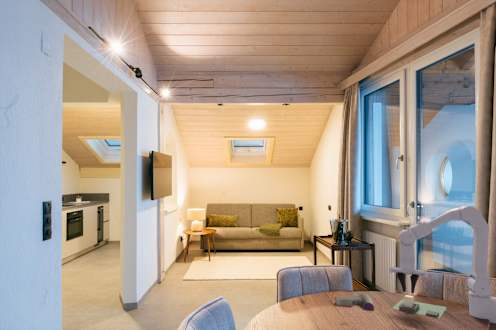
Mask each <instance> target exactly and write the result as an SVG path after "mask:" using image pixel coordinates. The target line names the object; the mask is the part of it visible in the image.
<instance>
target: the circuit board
mask: <svg viewBox="0 0 496 330" xmlns="http://www.w3.org/2000/svg"><path fill="white" fill-rule="evenodd" d="M403 302H404V299H403V298H402V299H401V300H399V301H398V302H397V303H396V304H395V305H394V306H392V307H391V309H393V310H397V311H402V310H399V306H400V305H401V304H402V303H403ZM414 304H419V309H418V310H417V311H416V313H415V314H417V315H422V316H426V317H427V316H428V317H432V318H438V319H441V317H442V316H443V315H444V313H445V312H446V310H447V308H448V307H447V306H443V305H436V304H431V303H426V302H425V303H424V302H420V301H415V300H414ZM402 312H403V311H402ZM405 312H408V311H405ZM408 313H409V312H408ZM410 313H411V314H414V313H413V312H410Z"/></svg>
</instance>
